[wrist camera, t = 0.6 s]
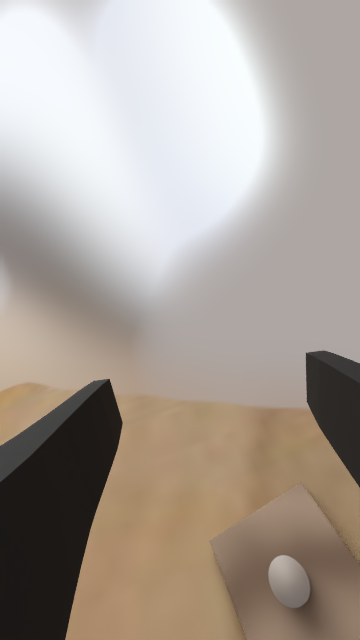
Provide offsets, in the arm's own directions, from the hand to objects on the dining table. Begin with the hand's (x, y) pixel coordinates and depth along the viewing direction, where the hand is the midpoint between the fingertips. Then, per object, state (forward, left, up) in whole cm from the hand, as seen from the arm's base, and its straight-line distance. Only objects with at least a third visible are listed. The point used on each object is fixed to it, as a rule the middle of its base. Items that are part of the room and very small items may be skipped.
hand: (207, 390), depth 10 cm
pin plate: (-5, +1, -17) cm, 17 cm away
